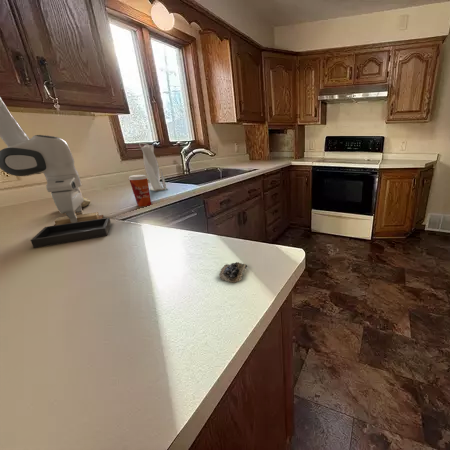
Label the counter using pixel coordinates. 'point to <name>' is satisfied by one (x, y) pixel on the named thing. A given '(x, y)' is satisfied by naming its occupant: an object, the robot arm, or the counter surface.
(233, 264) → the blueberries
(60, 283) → the counter surface
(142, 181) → the paper cup
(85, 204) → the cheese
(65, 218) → the board
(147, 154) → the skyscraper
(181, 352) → the counter surface
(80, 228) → the tray
